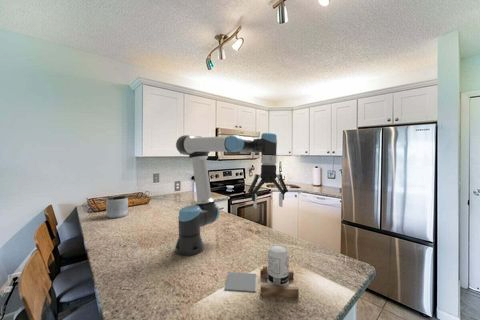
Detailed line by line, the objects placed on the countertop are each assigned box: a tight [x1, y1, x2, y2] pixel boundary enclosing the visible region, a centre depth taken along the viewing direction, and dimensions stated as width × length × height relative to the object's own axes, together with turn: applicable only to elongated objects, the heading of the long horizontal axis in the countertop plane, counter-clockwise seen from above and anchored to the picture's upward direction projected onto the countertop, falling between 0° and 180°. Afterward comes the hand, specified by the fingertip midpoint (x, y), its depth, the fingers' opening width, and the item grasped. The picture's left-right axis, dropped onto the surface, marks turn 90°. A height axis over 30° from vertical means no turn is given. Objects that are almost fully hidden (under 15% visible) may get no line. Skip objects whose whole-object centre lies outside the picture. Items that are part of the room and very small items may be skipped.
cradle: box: [259, 264, 300, 299], centre depth 85 cm, size 14×13×4 cm
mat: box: [223, 271, 257, 293], centre depth 88 cm, size 12×12×1 cm
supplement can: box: [267, 244, 290, 287], centre depth 85 cm, size 8×8×15 cm
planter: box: [105, 195, 129, 219], centre depth 180 cm, size 16×16×16 cm
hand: (268, 206), depth 105 cm, fingers open, 13 cm apart
